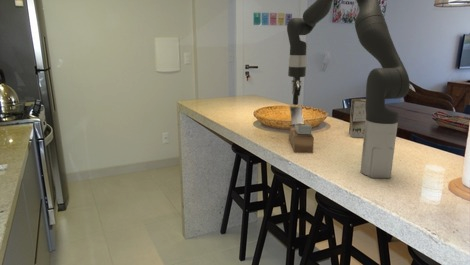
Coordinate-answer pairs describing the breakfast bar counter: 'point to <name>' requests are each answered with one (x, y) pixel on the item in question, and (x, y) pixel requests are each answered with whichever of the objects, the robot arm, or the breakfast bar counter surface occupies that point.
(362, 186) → the breakfast bar counter surface
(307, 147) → the body
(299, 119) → the lever
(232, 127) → the breakfast bar counter surface
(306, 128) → the grey rectangular block
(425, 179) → the breakfast bar counter surface
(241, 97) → the breakfast bar counter surface
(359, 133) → the coffee box
